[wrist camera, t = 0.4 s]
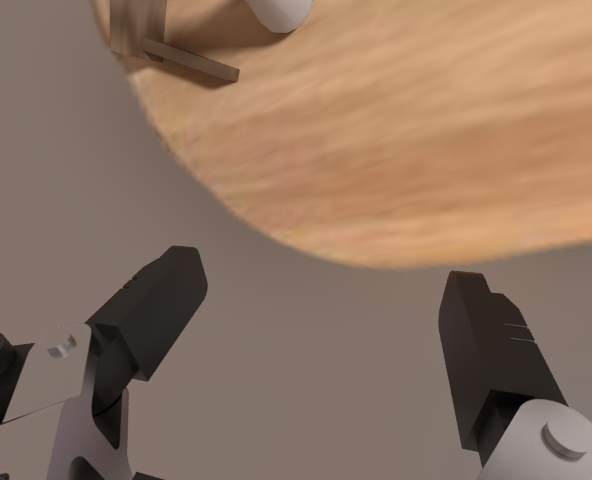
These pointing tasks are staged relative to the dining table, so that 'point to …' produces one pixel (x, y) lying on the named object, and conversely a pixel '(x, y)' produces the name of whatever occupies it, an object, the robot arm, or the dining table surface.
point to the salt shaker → (280, 13)
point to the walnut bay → (154, 37)
